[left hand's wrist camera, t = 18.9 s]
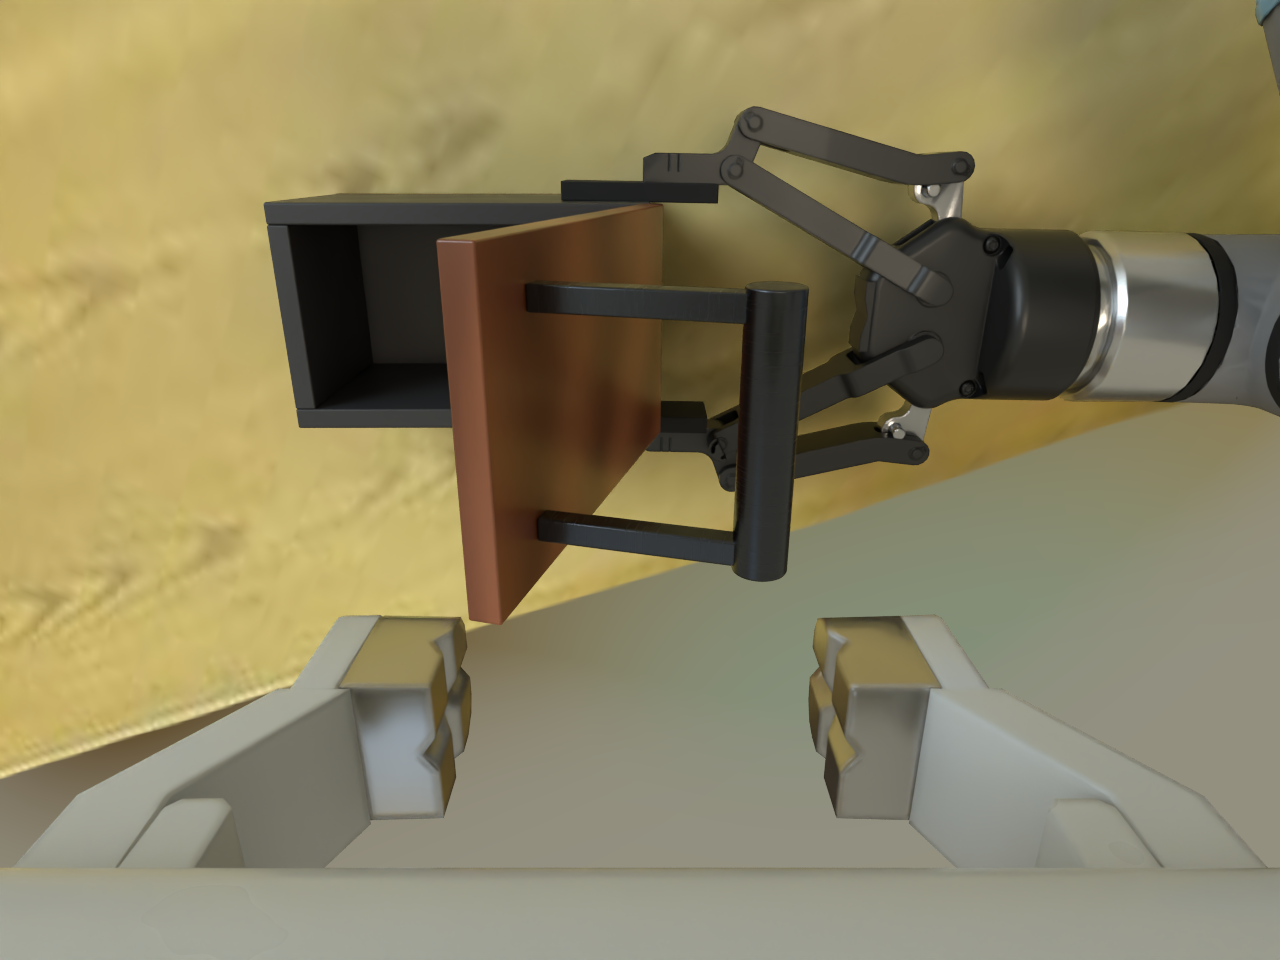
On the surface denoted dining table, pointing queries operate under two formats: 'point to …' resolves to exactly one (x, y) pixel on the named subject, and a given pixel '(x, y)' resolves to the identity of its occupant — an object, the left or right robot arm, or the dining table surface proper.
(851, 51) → the dining table surface
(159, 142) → the dining table surface
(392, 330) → the chest
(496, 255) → the lid
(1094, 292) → the right robot arm
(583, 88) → the dining table surface
